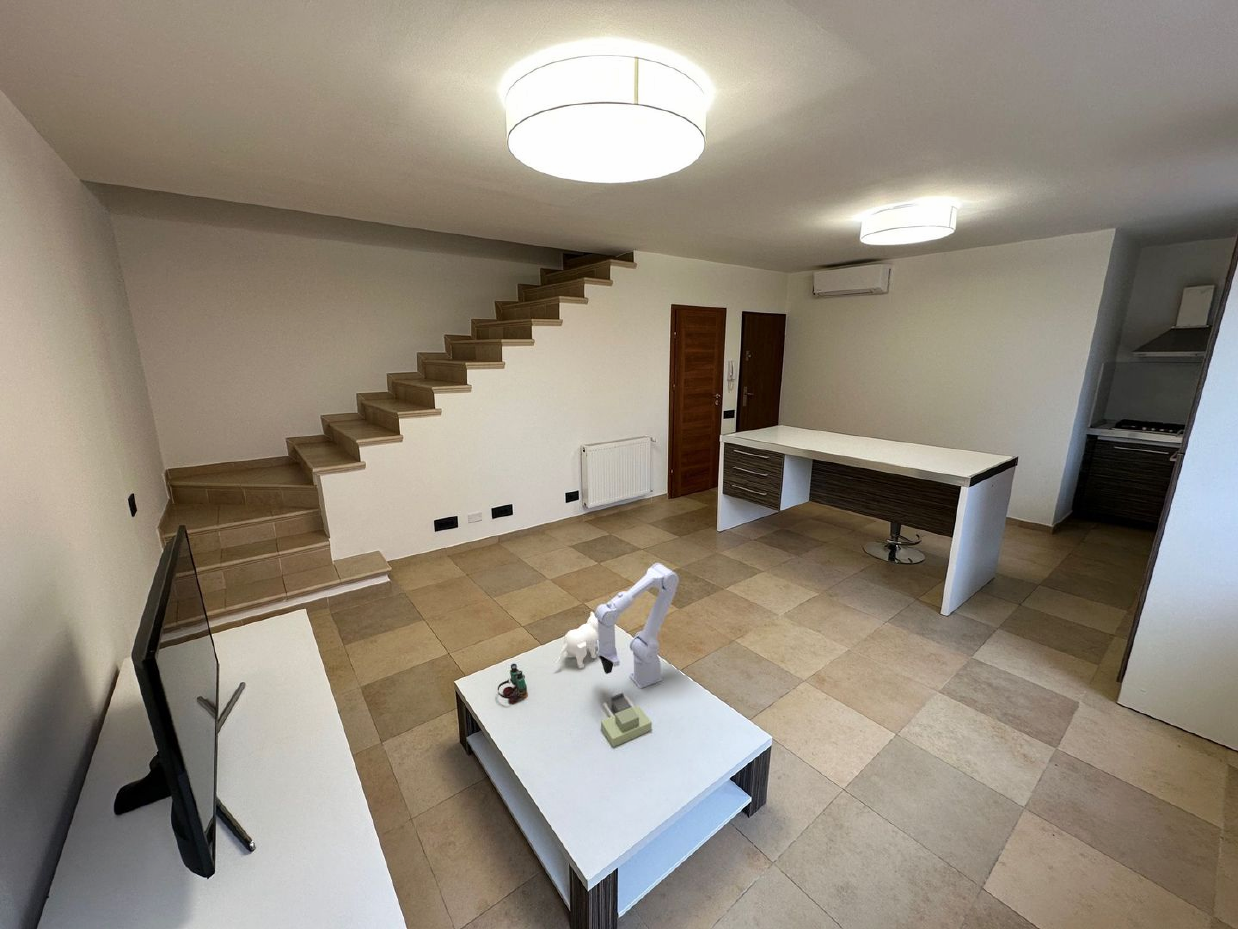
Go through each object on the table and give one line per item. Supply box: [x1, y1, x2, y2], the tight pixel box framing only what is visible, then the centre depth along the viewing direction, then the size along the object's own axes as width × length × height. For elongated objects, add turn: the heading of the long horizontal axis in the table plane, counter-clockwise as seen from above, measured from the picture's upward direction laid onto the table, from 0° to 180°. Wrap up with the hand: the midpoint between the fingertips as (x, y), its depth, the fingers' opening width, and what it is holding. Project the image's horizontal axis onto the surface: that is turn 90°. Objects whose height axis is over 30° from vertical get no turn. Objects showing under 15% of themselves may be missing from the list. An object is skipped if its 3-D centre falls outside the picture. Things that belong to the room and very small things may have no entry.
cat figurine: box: [555, 611, 598, 669], centre depth 190 cm, size 25×10×17 cm, turn 129°
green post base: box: [600, 694, 653, 748], centre depth 160 cm, size 14×16×6 cm
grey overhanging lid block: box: [610, 692, 631, 715], centre depth 164 cm, size 4×6×5 cm
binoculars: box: [497, 663, 529, 704], centre depth 172 cm, size 9×11×10 cm
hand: (608, 672), depth 170 cm, fingers closed
